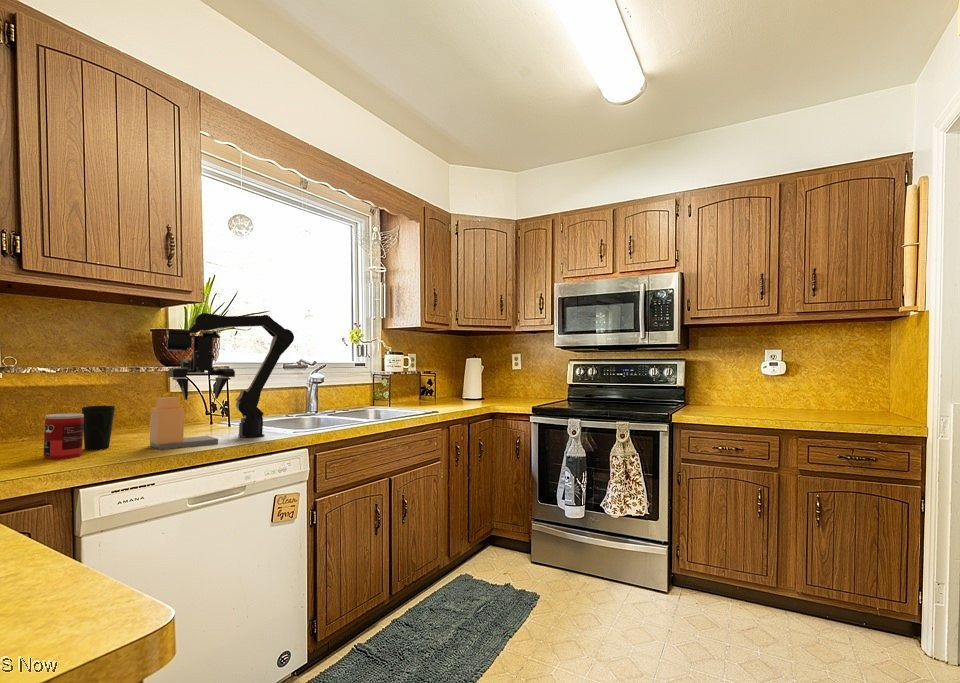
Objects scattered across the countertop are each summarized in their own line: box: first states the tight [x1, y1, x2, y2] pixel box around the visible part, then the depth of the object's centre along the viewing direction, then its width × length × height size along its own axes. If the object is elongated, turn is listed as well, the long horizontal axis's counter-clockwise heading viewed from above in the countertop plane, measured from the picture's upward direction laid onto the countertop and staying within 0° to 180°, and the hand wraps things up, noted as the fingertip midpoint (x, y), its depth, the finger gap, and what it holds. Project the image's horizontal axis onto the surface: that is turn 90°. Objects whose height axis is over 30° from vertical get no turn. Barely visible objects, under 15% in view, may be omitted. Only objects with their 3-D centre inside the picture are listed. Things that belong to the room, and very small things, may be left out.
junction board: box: [149, 435, 219, 451], centre depth 154 cm, size 16×9×4 cm, turn 138°
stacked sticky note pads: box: [149, 396, 185, 444], centre depth 150 cm, size 7×7×13 cm
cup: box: [81, 405, 116, 451], centre depth 145 cm, size 8×8×12 cm
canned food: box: [42, 412, 84, 460], centre depth 133 cm, size 8×8×11 cm
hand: (201, 399), depth 165 cm, fingers open, 9 cm apart
